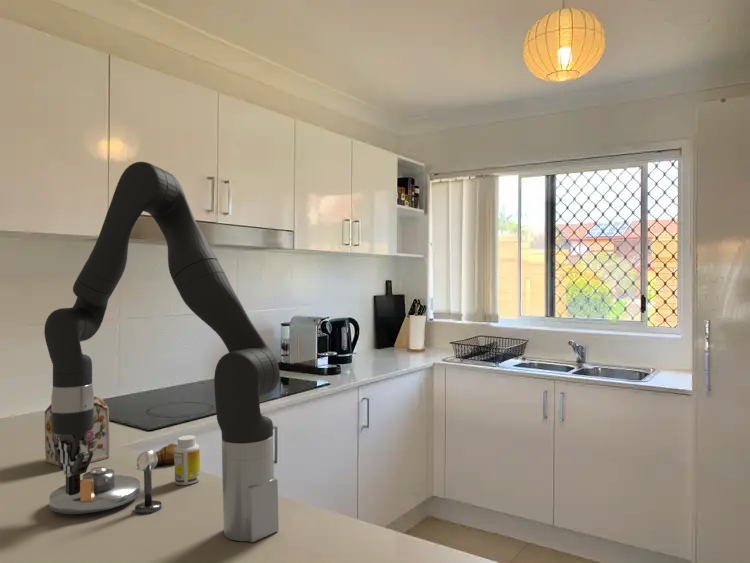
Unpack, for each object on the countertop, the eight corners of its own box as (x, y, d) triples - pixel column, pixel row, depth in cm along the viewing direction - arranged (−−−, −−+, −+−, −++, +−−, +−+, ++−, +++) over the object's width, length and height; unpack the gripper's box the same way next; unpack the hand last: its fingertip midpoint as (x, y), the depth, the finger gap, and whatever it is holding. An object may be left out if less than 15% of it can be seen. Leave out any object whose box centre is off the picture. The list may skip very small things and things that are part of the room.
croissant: (194, 454, 153) (194, 436, 153) (201, 461, 147) (201, 441, 147) (141, 464, 146) (140, 444, 146) (146, 471, 140) (145, 451, 140)
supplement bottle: (202, 476, 134) (201, 433, 134) (197, 485, 129) (196, 440, 129) (178, 478, 134) (177, 434, 134) (172, 486, 128) (171, 441, 128)
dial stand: (166, 508, 116) (165, 450, 116) (143, 516, 112) (141, 456, 112) (153, 502, 119) (152, 446, 119) (130, 510, 115) (129, 451, 115)
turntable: (146, 480, 129) (145, 454, 129) (131, 508, 113) (130, 479, 113) (64, 487, 126) (64, 461, 126) (36, 518, 109) (36, 488, 109)
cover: (117, 482, 123) (117, 463, 123) (110, 492, 117) (110, 472, 117) (87, 485, 122) (86, 465, 122) (79, 495, 116) (78, 474, 116)
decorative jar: (88, 451, 158) (87, 386, 158) (111, 457, 151) (110, 390, 152) (43, 462, 148) (42, 393, 149) (65, 470, 142) (64, 398, 142)
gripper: (107, 408, 112) (107, 496, 112) (77, 399, 121) (77, 481, 121) (67, 415, 107) (67, 507, 107) (39, 405, 115) (39, 491, 115)
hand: (72, 493), depth 114 cm, fingers closed
